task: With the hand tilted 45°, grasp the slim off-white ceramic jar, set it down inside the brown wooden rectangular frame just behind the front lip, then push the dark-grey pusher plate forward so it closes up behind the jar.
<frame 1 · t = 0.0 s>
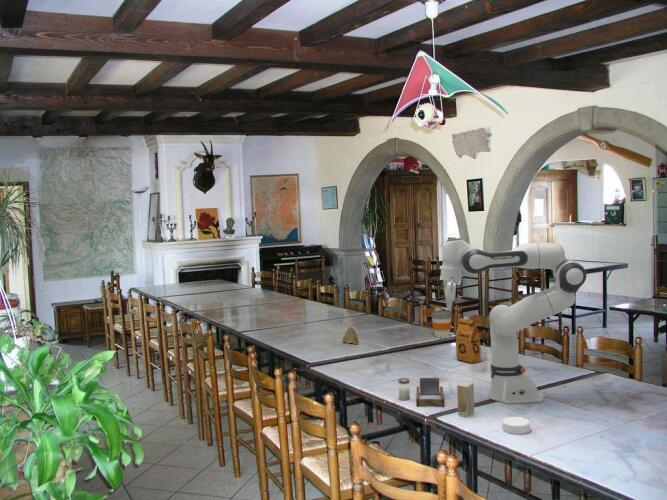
hand: (448, 308, 279), 39 cm above the table, tool pointing down, fingers open, 8 cm apart
skincare box: (466, 414, 259), on the table
brown wooden rectangular frame: (430, 398, 280), on the table
pusher: (429, 384, 288), point 4 cm above the table, slide at 0.0 cm
jar: (404, 398, 281), on the table
coffee package: (468, 361, 341), on the table
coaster: (516, 430, 240), on the table
rock: (350, 344, 393), on the table
reusable coffee cup: (442, 336, 403), on the table
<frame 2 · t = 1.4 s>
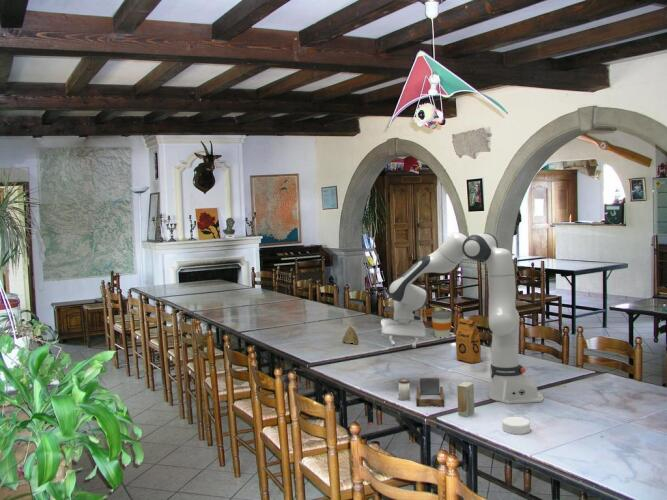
hand: (403, 346, 290), 21 cm above the table, tool tilted 45°, fingers open, 8 cm apart
nothing on the table moved.
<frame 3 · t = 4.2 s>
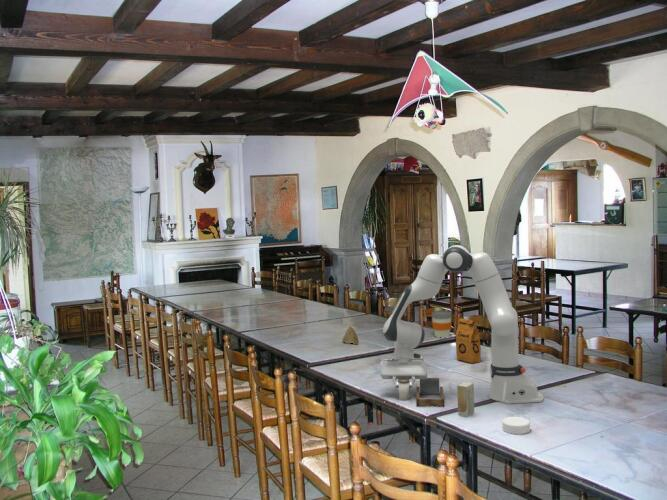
hand: (403, 387, 280), 5 cm above the table, tool tilted 45°, fingers closed on jar, 5 cm apart
jar: (404, 398, 281), on the table, touching gripper
everything else where it was.
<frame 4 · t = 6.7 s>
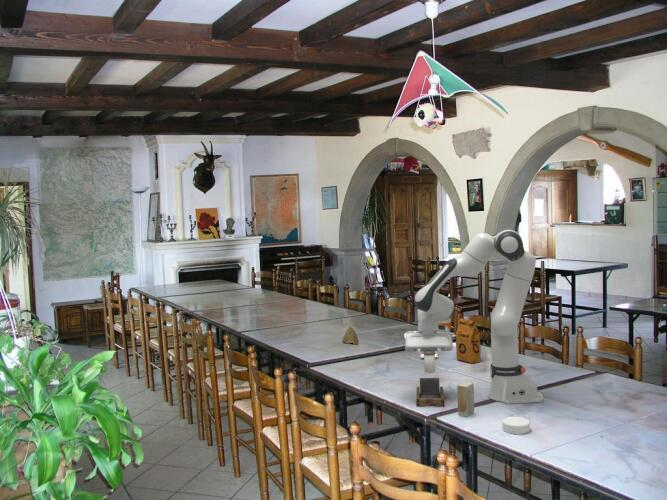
hand: (429, 358, 273), 19 cm above the table, tool tilted 45°, fingers closed on jar, 5 cm apart
jar: (429, 371, 274), point 13 cm above the table, touching gripper
everything else where it was.
when the fingers open (7 cm above the table, at t = 9.5 s): jar drops 1 cm, resting in brown wooden rectangular frame.
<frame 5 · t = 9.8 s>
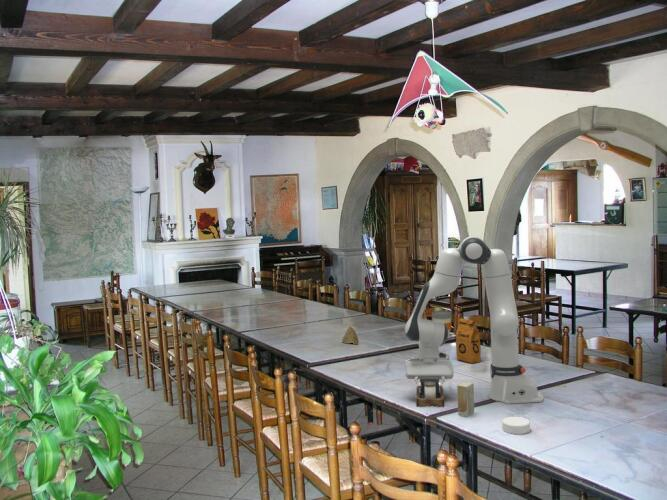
hand: (429, 387, 274), 7 cm above the table, tool tilted 45°, fingers open, 8 cm apart
jar: (430, 402, 275), resting in brown wooden rectangular frame
everything else where it was.
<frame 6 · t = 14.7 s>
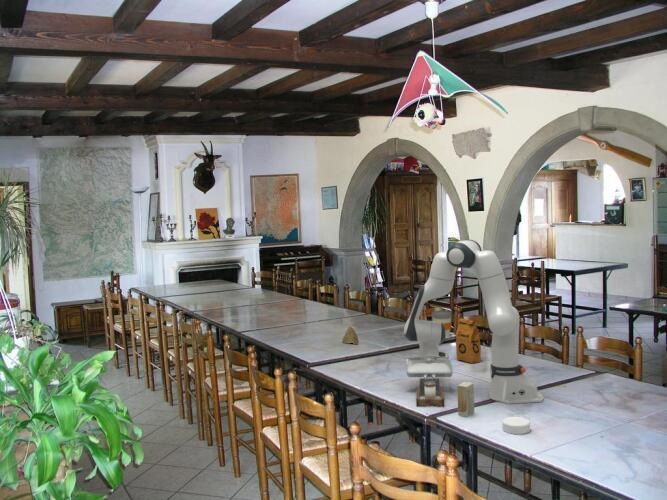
hand: (429, 384, 286), 4 cm above the table, tool tilted 45°, fingers closed, pressing on pusher
pusher: (429, 385, 287), point 4 cm above the table, slide at 1.1 cm, touching gripper
everything else where it was.
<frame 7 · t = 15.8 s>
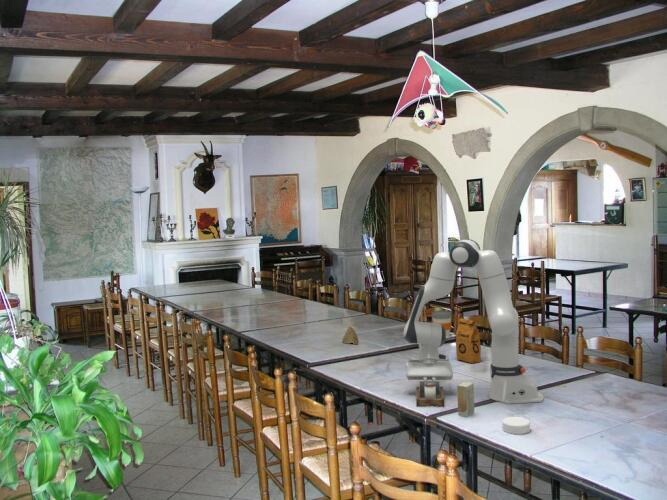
hand: (429, 387, 281), 4 cm above the table, tool tilted 45°, fingers closed, pressing on pusher
pusher: (429, 388, 282), point 4 cm above the table, slide at 5.7 cm, touching gripper
everything else where it was.
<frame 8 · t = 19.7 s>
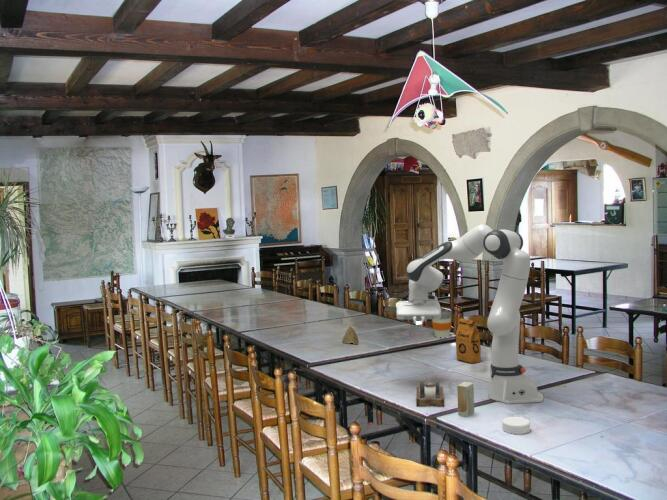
hand: (418, 326, 290), 29 cm above the table, tool tilted 45°, fingers closed
pusher: (429, 388, 282), point 4 cm above the table, slide at 5.7 cm
everything else where it was.
at the end: jar inside the target area on the brown wooden rectangular frame (0.2 cm from its centre), point 0.0 cm above the brown wooden rectangular frame's base; jar tilted 0°; pusher slide at 5.7 cm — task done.
